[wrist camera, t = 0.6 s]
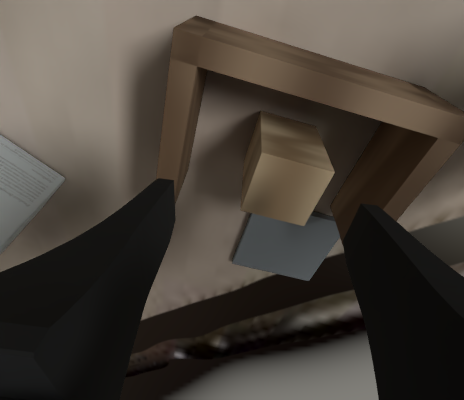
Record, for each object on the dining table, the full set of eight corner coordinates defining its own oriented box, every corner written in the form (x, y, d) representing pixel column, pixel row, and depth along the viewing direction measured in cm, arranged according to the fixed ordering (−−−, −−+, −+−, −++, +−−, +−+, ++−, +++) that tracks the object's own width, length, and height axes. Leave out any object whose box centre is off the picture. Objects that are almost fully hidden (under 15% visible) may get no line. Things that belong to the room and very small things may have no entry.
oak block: (315, 126, 20) (334, 172, 15) (293, 173, 22) (304, 226, 17) (260, 110, 19) (261, 152, 14) (244, 160, 22) (240, 210, 17)
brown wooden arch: (424, 87, 18) (479, 121, 13) (343, 209, 24) (363, 260, 19) (196, 15, 16) (173, 27, 12) (173, 165, 22) (152, 209, 18)
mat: (346, 220, 24) (348, 225, 24) (307, 276, 29) (308, 280, 29) (257, 197, 24) (257, 201, 23) (232, 258, 28) (232, 263, 28)
